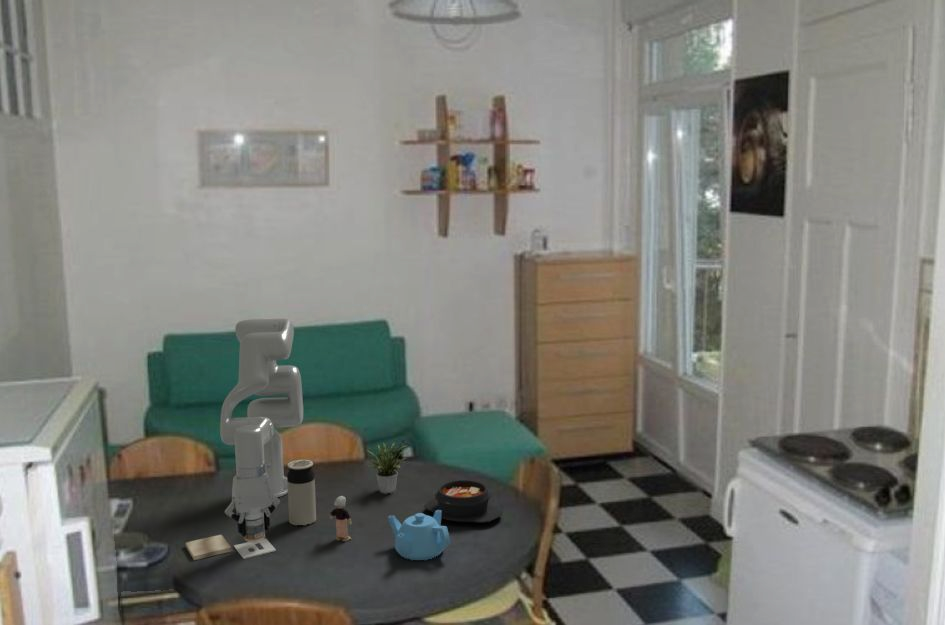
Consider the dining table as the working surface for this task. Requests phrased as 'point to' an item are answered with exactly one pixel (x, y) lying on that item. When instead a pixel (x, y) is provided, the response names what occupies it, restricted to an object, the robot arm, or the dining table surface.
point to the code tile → (254, 548)
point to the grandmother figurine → (341, 518)
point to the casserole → (464, 502)
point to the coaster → (208, 547)
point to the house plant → (387, 468)
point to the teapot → (420, 536)
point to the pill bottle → (254, 525)
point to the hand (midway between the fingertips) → (254, 531)
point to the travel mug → (301, 492)
